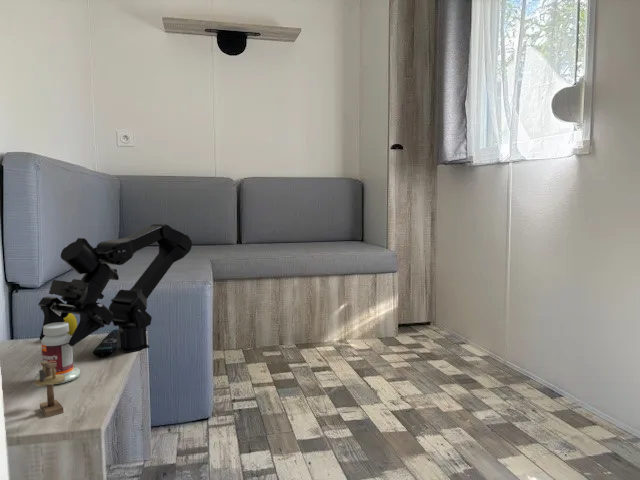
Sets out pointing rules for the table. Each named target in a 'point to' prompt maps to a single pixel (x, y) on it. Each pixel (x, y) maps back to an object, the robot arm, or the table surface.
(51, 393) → the balance
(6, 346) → the table surface
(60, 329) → the pill bottle
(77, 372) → the dish
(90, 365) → the table surface
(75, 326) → the lemon
